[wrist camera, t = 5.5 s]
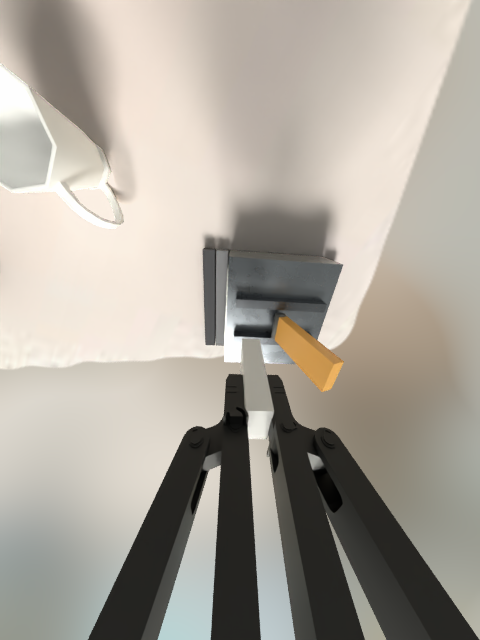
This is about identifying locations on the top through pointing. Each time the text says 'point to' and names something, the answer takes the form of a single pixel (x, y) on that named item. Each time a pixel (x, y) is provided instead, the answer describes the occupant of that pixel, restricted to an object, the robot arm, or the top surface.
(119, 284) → the top surface
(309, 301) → the box
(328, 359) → the lever
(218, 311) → the gray slab
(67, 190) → the cup
